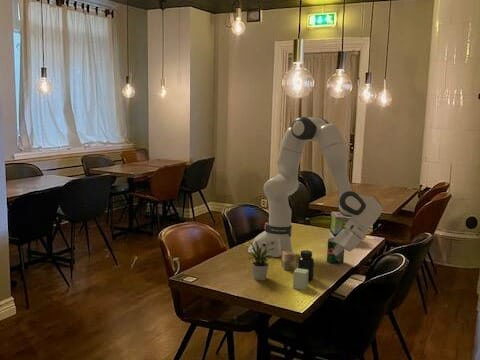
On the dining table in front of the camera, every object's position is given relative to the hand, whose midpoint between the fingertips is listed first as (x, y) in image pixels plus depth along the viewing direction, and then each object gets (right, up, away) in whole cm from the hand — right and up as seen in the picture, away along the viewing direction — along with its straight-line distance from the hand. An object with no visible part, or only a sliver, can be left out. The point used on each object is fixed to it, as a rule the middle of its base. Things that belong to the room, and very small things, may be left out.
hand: (333, 254), depth 207 cm
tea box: (+16, -2, +62) cm, 64 cm away
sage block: (-16, -11, -13) cm, 24 cm away
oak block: (-19, -8, +11) cm, 23 cm away
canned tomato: (+5, -7, +21) cm, 22 cm away
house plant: (-34, -10, -3) cm, 35 cm away
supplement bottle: (-13, -10, -3) cm, 17 cm away
